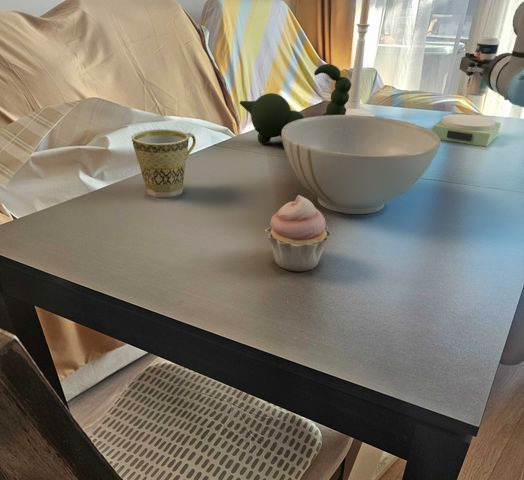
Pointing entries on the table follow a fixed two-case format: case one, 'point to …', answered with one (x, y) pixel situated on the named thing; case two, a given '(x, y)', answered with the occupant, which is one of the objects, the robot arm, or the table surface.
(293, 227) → the cupcake
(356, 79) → the candlestick
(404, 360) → the table surface
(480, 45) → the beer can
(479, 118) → the kitchen scale
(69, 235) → the table surface
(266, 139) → the toy figurine
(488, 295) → the table surface
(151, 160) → the ceramic cup
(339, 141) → the decorative bowl
